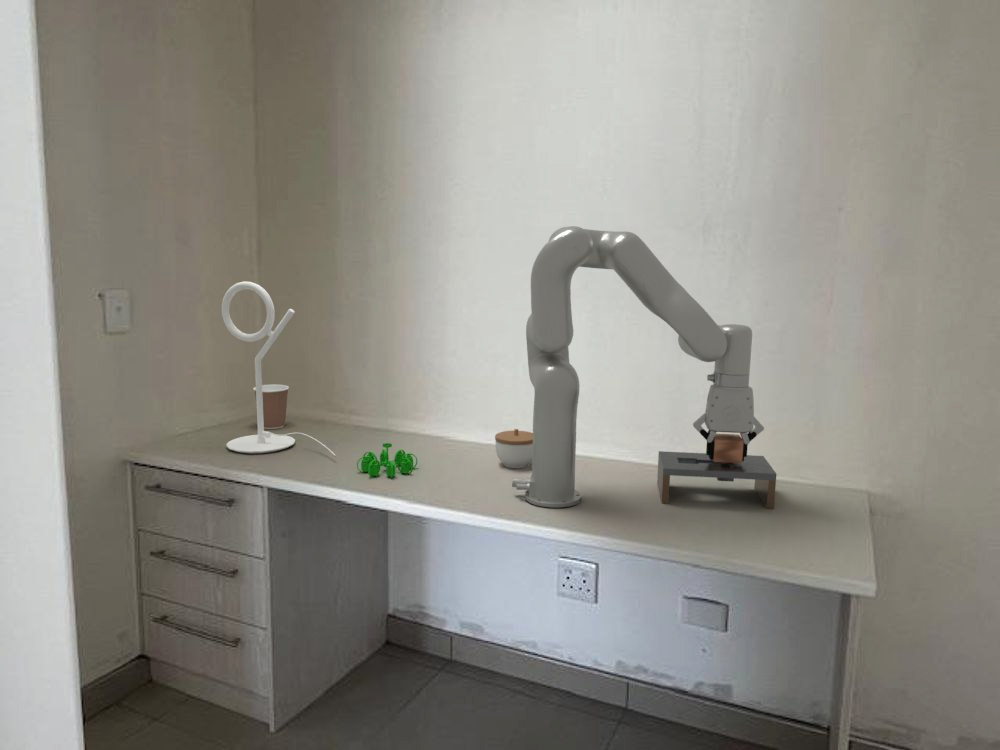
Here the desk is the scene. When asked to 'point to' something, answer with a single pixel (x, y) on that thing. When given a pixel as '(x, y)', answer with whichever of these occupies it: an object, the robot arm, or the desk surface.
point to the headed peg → (728, 450)
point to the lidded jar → (514, 448)
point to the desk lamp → (258, 372)
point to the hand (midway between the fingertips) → (726, 458)
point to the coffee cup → (274, 405)
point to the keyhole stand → (716, 472)
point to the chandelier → (387, 462)
